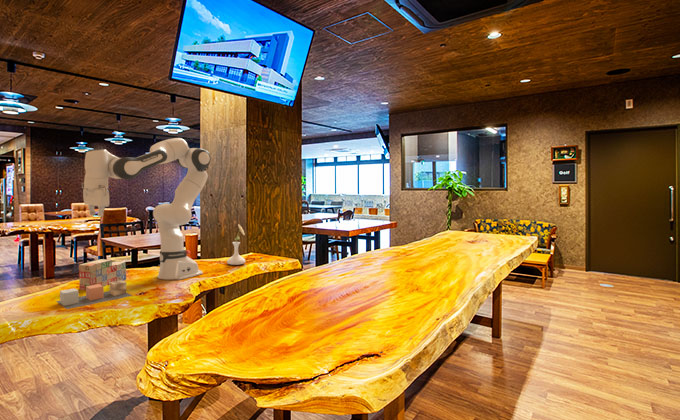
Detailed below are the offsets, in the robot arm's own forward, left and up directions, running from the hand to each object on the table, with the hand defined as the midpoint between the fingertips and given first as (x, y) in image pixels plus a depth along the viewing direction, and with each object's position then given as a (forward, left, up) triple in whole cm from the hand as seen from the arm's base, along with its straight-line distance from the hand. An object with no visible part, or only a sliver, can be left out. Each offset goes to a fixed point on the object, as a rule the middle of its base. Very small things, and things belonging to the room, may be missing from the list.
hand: (96, 215), depth 163 cm
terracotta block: (+4, +10, -34) cm, 36 cm away
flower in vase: (-78, -5, -35) cm, 85 cm away
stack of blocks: (-6, -11, -35) cm, 37 cm away
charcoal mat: (+4, +11, -35) cm, 37 cm away
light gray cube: (+13, +10, -34) cm, 38 cm away
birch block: (-5, +10, -34) cm, 36 cm away
